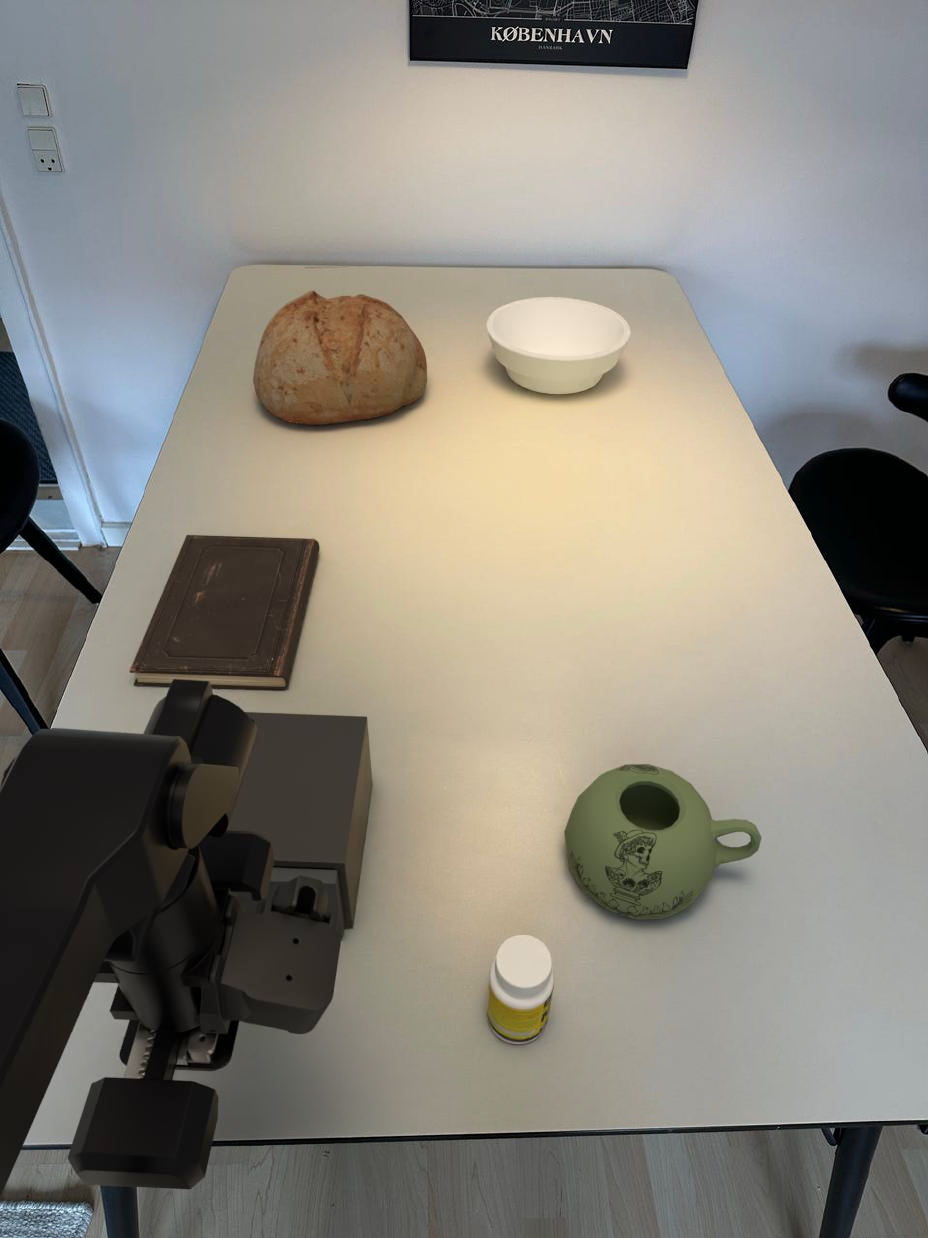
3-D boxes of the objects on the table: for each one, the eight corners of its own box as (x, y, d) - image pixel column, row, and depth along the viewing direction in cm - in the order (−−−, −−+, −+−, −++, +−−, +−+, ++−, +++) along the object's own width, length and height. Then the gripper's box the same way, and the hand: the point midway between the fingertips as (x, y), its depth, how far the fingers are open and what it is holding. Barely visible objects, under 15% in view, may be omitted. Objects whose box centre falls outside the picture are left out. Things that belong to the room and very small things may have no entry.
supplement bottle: (549, 1046, 67) (559, 995, 61) (486, 1045, 67) (490, 993, 61) (546, 984, 71) (555, 929, 65) (485, 983, 71) (489, 928, 65)
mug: (554, 917, 75) (564, 859, 69) (566, 792, 84) (576, 731, 78) (751, 948, 73) (778, 891, 67) (740, 817, 83) (763, 757, 77)
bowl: (580, 335, 157) (585, 287, 151) (650, 394, 142) (659, 343, 136) (461, 357, 150) (462, 308, 144) (522, 421, 135) (526, 369, 129)
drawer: (335, 987, 69) (327, 936, 64) (188, 981, 69) (167, 929, 64) (362, 798, 82) (357, 743, 77) (238, 793, 82) (225, 738, 77)
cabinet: (353, 928, 74) (344, 863, 67) (200, 922, 74) (177, 856, 68) (372, 784, 85) (367, 716, 78) (239, 779, 85) (222, 710, 78)
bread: (420, 356, 150) (419, 265, 140) (436, 428, 133) (436, 331, 123) (259, 363, 147) (245, 271, 137) (253, 438, 130) (238, 340, 120)
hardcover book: (134, 686, 93) (129, 670, 92) (190, 549, 110) (186, 534, 109) (288, 691, 93) (285, 675, 92) (320, 553, 110) (318, 538, 109)
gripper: (285, 1133, 37) (320, 1238, 48) (345, 773, 51) (362, 915, 62) (19, 1121, 37) (111, 1228, 48) (150, 765, 51) (200, 909, 62)
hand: (211, 1050), depth 55 cm, fingers closed
